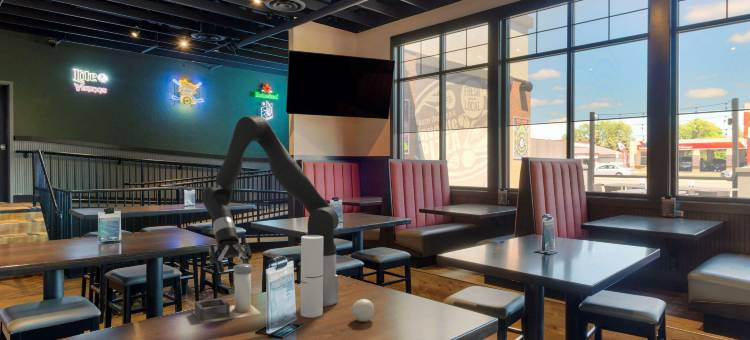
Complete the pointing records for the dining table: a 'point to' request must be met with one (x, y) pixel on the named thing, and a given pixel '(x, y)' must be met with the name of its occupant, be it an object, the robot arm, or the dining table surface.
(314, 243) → the cylindrical container
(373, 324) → the dining table surface
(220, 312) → the socket board
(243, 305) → the cylinder
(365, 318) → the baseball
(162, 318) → the dining table surface
